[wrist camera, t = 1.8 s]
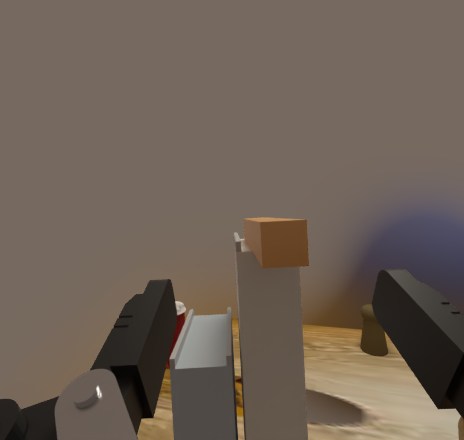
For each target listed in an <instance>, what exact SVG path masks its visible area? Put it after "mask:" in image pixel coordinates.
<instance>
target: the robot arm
mask: <svg viewBox="0 0 464 440" xmlns="http://www.w3.org/2000/svg"><path fill="white" fill-rule="evenodd" d="M372 308H373V312H374V315H375V317H376V319H377V320H378V322H379V323H380V325H381V326H382V328H383V329H384V331H385V332H386V334H387V335H388V337H389V338H390V339H391V341H392V342H393V344H394V345H395V347H396V348H397V350H398V351H399V353H400V354H401V356H402V357H403V358H404V360H405V361H406V363H407V364H408V366H409V367H410V369H411V370H412V372H413V373H414V375H415V376H416V377H417V379H418V380H419V382H420V383H421V385H422V386H423V388H424V389H425V391H426V392H427V394H428V395H429V396H430V398H431V399H432V401H433V402H434V404H435V405H436V407H437V408H438V409H455V408H456V410H457V411H458V412H459V414H460V415H461V417H460V419H459V423H458V430H459V440H464V315H463V314H460V311H459V310H458V309H456V308H455V307H454V306H453V305H450V303H449V301H448V300H446V299H445V298H444V297H443V296H442V295H441V294H440V293H439V292H437V291H436V290H434V289H432V288H431V287H429V286H427V285H425V284H423V283H422V282H418V281H417V280H416V279H415V278H414V277H413V276H412V275H411V274H409V273H408V272H407V271H406V270H404V269H392V270H381V271H380V272H379V274H378V277H377V282H376V287H375V291H374V296H373V300H372ZM176 324H177V308H176V303H175V298H174V293H173V287H172V283H171V280H170V279H166V280H150V281H149V283H148V285H147V287H146V290H145V291H144V293H143V294H136V295H135V296H134V297H133V298H132V299H130V300H129V301H128V302H127V303H126V304H125V306H124V308H123V310H122V311H121V313H120V315H119V318H118V319H117V321H116V323H115V325H114V328H113V329H112V330H111V332H110V334H109V336H108V338H107V340H106V342H105V343H104V345H103V347H102V349H101V351H100V353H99V355H98V356H97V358H96V360H95V362H94V364H93V366H92V368H91V369H90V371H88V372H86V373H84V374H82V375H80V376H79V377H77V378H76V379H74V380H73V381H72V382H71V383H70V384H69V385H68V386H67V387H66V388H65V389H64V390H63V392H62V393H61V395H60V396H58V397H56V398H53V399H50V400H47V401H44V402H41V403H38V404H35V405H33V406H30V407H27V408H24V409H20V407H19V406H18V404H17V403H16V402H15V401H14V400H11V399H0V440H138V437H137V433H138V429H139V426H140V422H141V419H143V418H153V417H154V413H155V409H156V405H157V401H158V397H159V393H160V389H161V385H162V381H163V377H164V373H165V369H166V365H167V361H168V357H169V353H170V349H171V345H172V341H173V337H174V333H175V329H176Z"/></svg>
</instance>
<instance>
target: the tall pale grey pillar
mask: <svg viewBox="0 0 464 440" xmlns="http://www.w3.org/2000/svg"><path fill="white" fill-rule="evenodd" d="M234 246H235V265H236V282H237V302H238V322H239V340H240V359H241V378H242V397H243V416H244V434H245V440H308V432H307V412H306V391H305V370H304V350H303V330H302V309H301V289H300V268H299V266H298V267H280V268H262V267H261V265H260V264H259V262H258V260H257V259H256V257H255V255H254V254H253V252H252V251H251V249H250V247H249V246H248V244H247V242H246V241H245V239H240V238H239V236H238V233H234Z"/></svg>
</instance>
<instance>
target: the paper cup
mask: <svg viewBox="0 0 464 440" xmlns="http://www.w3.org/2000/svg"><path fill="white" fill-rule="evenodd" d="M175 303H176V308H177V324H176V329H175V333H174V337H173V341H172V345H171V349H170V353H169V357H168V361H167V365H166V368H170V361H169V359H170V357H171V354H172V352H173V349H174V347H175V345H176V342H177V340H178V338H179V335H180V333H181V331H182V328H183V326H184V323H185V314H184V312H185V310H186V308H185V307H184V304H183V303H182V302H177V301H175Z"/></svg>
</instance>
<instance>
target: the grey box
mask: <svg viewBox="0 0 464 440" xmlns="http://www.w3.org/2000/svg"><path fill="white" fill-rule="evenodd" d="M169 361H170V378H171V395H172V413H173V430H174V440H238V429H237V410H236V392H235V373H234V354H233V336H232V317H231V307H229V308H228V312H227V314H222V315H203V316H194V310H193V309H191V310H190V312H189V314H188V316H187V319H186V321H185V323H184V326H183V328H182V331H181V333H180V335H179V338H178V340H177V342H176V345H175V347H174V349H173V352H172V354H171V357H170V359H169Z"/></svg>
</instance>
